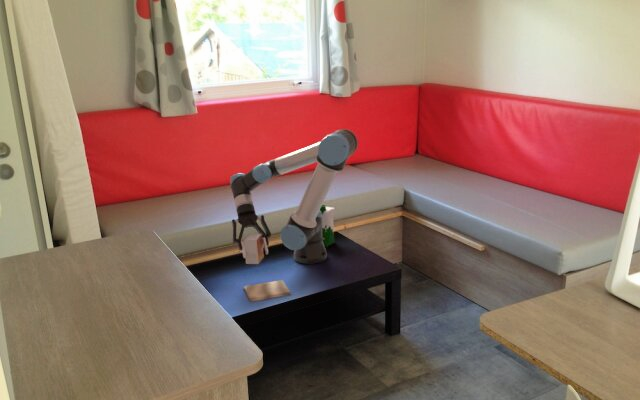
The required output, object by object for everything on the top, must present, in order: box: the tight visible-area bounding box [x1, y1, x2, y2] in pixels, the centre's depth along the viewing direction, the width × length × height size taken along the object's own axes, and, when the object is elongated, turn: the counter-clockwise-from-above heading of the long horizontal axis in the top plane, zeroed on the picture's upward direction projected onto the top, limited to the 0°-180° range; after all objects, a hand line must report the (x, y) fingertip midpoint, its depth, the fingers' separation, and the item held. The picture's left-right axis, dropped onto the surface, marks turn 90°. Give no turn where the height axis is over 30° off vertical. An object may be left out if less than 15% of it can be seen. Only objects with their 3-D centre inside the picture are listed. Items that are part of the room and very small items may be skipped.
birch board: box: [243, 279, 291, 303], centre depth 219 cm, size 16×12×1 cm
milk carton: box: [320, 204, 336, 248], centre depth 265 cm, size 9×9×20 cm
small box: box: [243, 233, 265, 265], centre depth 227 cm, size 8×6×10 cm
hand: (256, 254), depth 224 cm, fingers closed on small box, 8 cm apart
